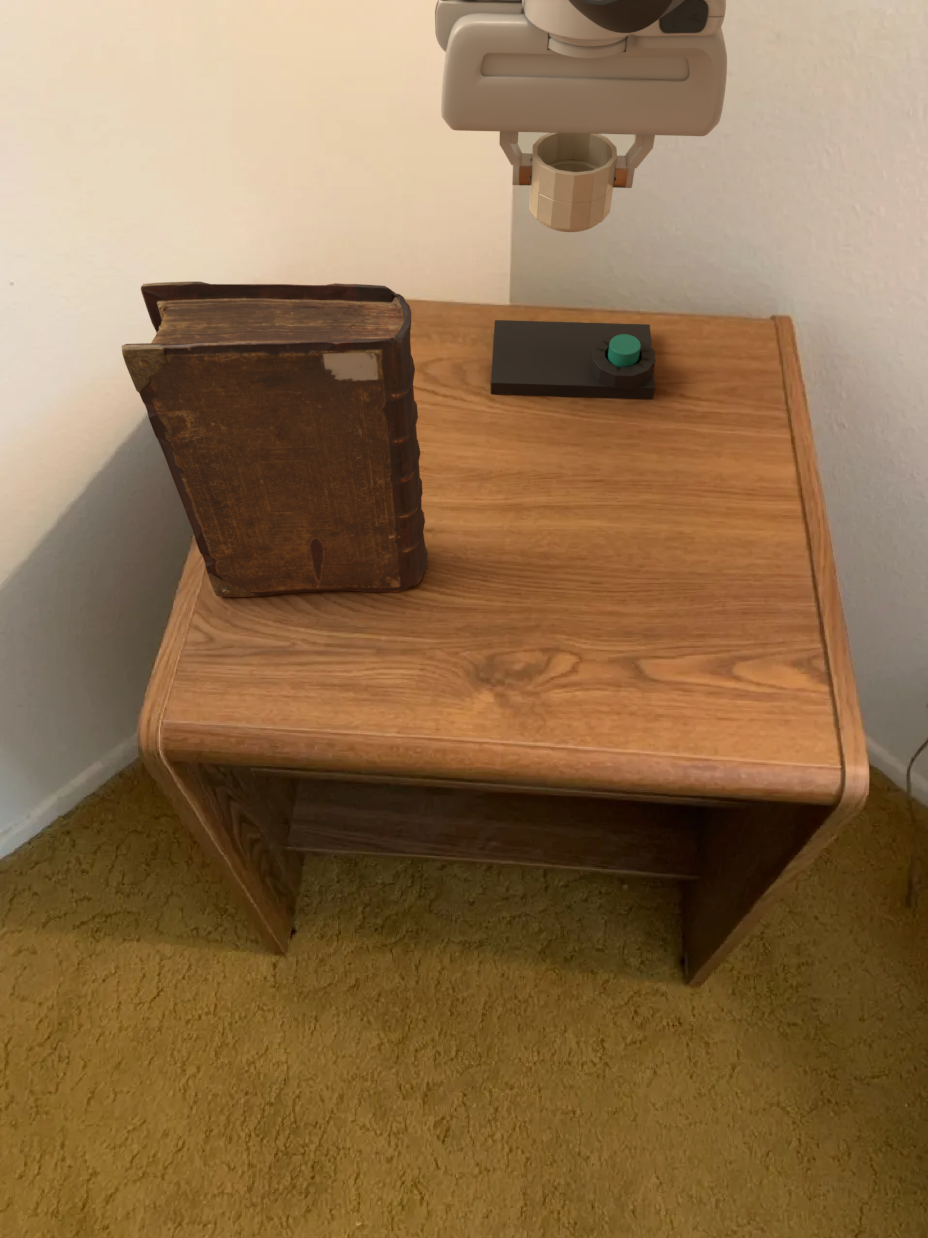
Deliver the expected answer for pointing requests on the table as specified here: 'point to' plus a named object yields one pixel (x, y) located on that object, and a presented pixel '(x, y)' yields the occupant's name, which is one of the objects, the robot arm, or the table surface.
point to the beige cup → (572, 180)
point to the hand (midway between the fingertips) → (572, 182)
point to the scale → (568, 360)
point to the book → (288, 432)
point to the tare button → (624, 350)
